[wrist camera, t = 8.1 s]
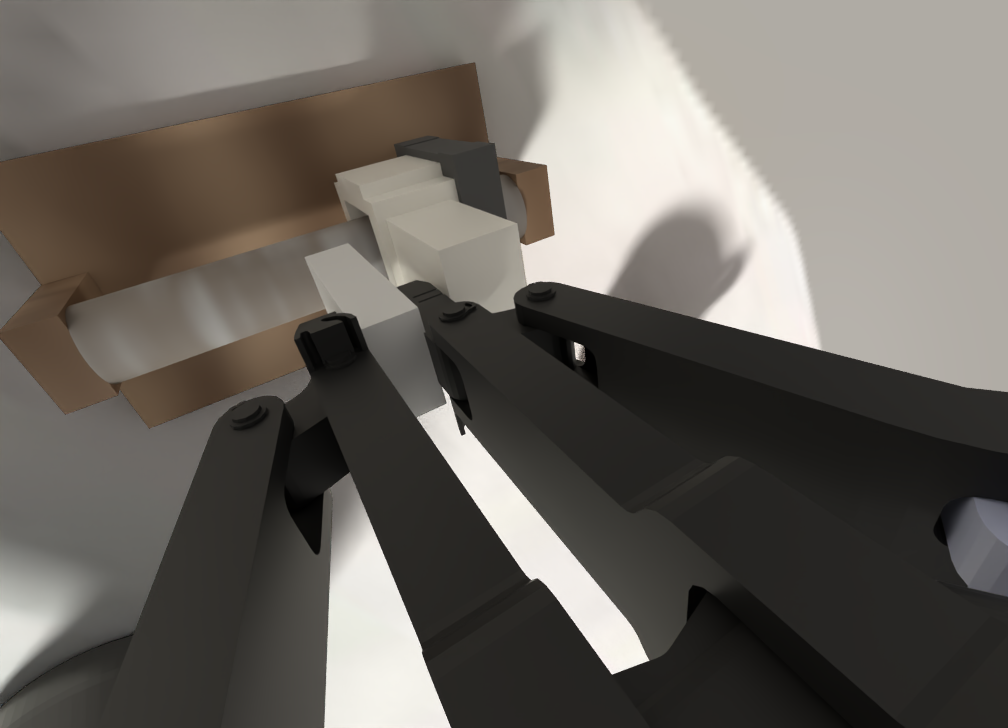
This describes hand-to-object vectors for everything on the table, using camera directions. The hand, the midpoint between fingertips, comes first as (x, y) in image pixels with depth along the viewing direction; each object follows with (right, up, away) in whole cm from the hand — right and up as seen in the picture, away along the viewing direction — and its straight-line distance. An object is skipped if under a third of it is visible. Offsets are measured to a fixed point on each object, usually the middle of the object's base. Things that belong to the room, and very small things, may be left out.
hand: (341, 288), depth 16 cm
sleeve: (0, +4, +6) cm, 7 cm away
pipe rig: (-4, +3, +6) cm, 8 cm away
